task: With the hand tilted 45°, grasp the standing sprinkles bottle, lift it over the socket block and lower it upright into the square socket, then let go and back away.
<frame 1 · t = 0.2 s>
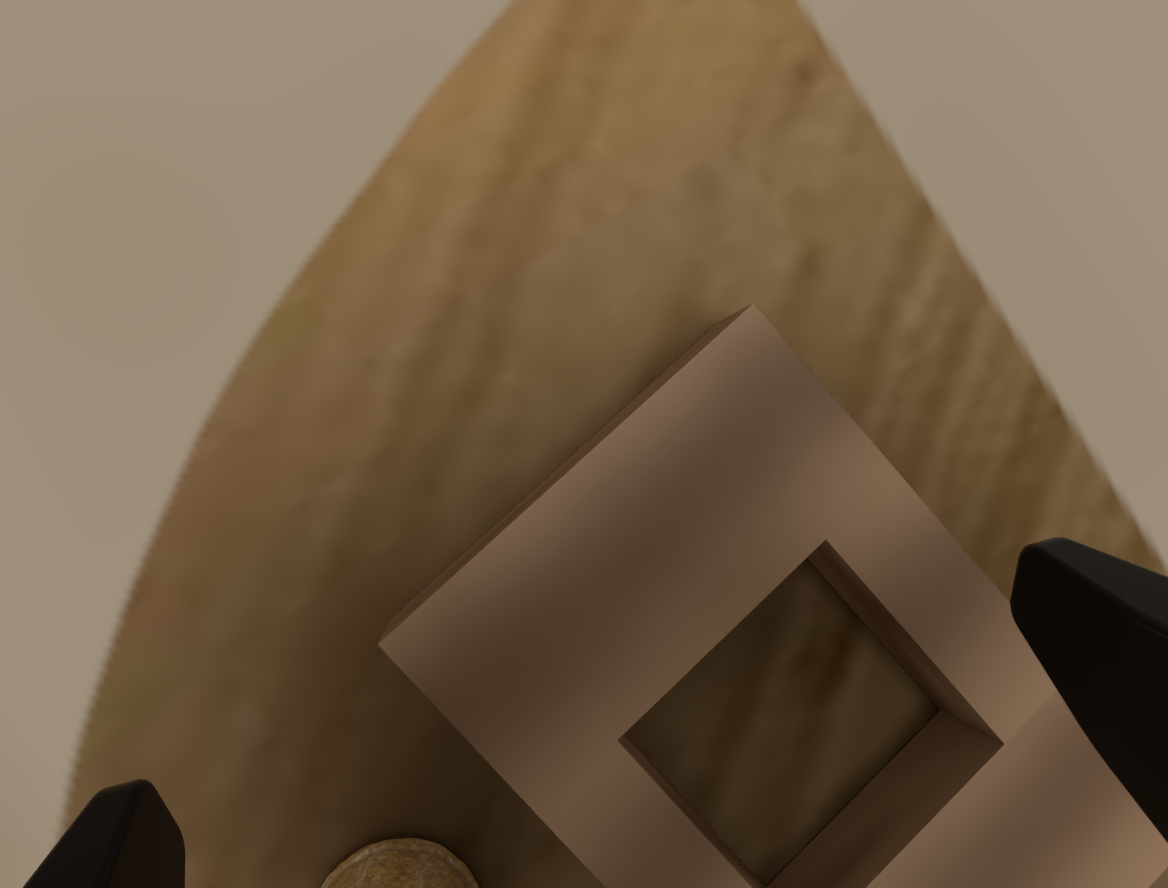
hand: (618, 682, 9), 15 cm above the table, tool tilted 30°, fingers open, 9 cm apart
socket block: (773, 707, 24), on the table
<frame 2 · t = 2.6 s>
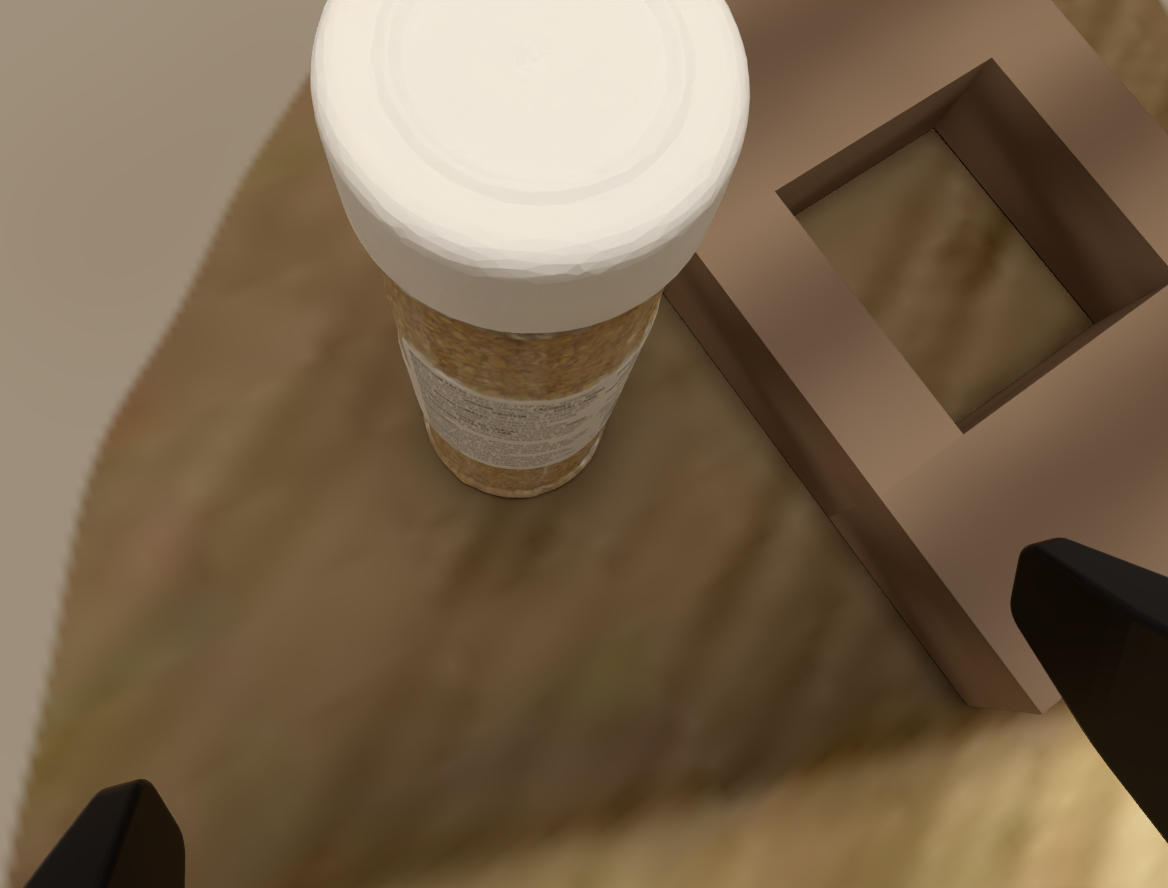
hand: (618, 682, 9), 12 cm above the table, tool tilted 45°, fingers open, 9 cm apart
sprinkles bottle: (515, 415, 22), on the table
socket block: (919, 286, 23), on the table
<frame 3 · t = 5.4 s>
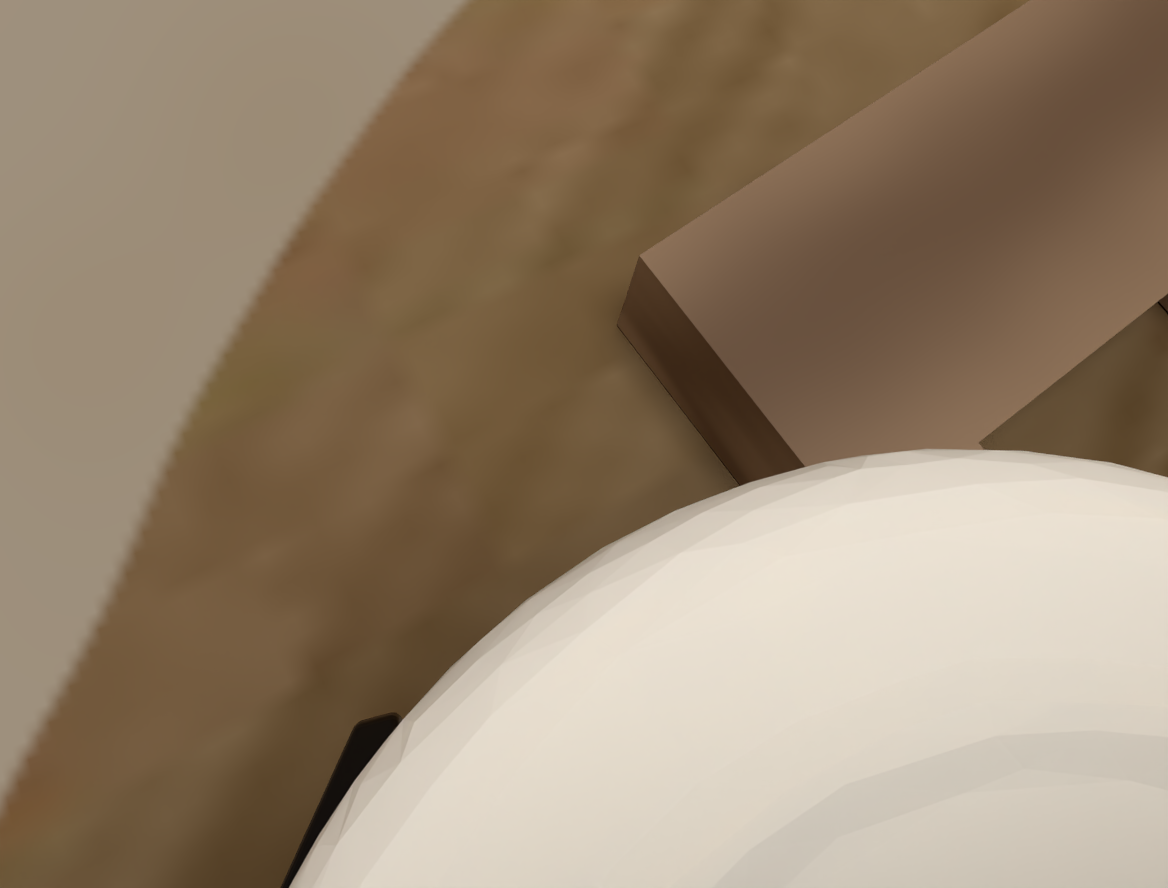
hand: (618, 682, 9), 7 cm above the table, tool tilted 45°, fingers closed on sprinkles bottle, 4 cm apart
sprinkles bottle: (592, 752, 15), on the table, touching gripper
socket block: (1147, 522, 17), on the table
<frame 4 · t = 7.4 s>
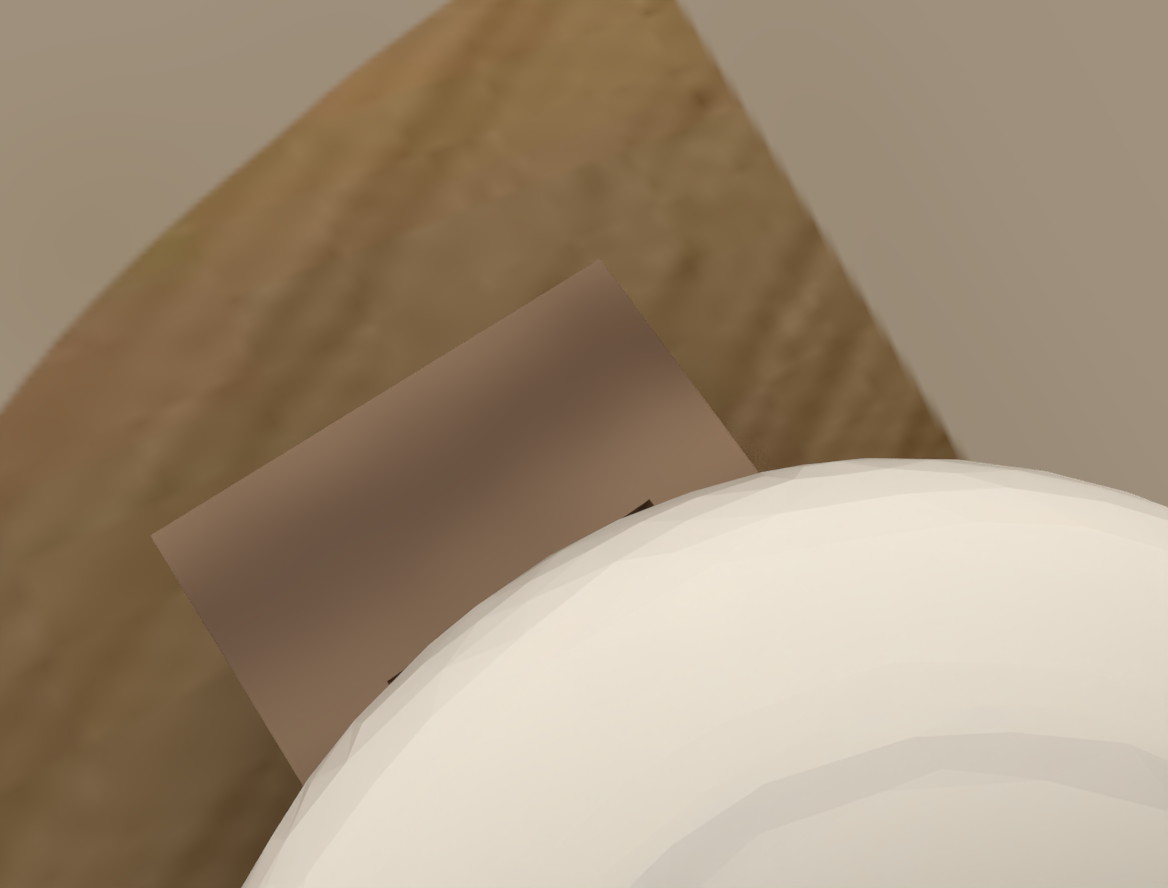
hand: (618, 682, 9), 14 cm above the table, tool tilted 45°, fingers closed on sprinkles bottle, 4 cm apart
sprinkles bottle: (600, 747, 15), point 7 cm above the table, touching gripper
socket block: (600, 712, 22), on the table
when the fingers open (8 cm above the table, at t = 9.5 s): sprinkles bottle drops 1 cm, resting in socket block.
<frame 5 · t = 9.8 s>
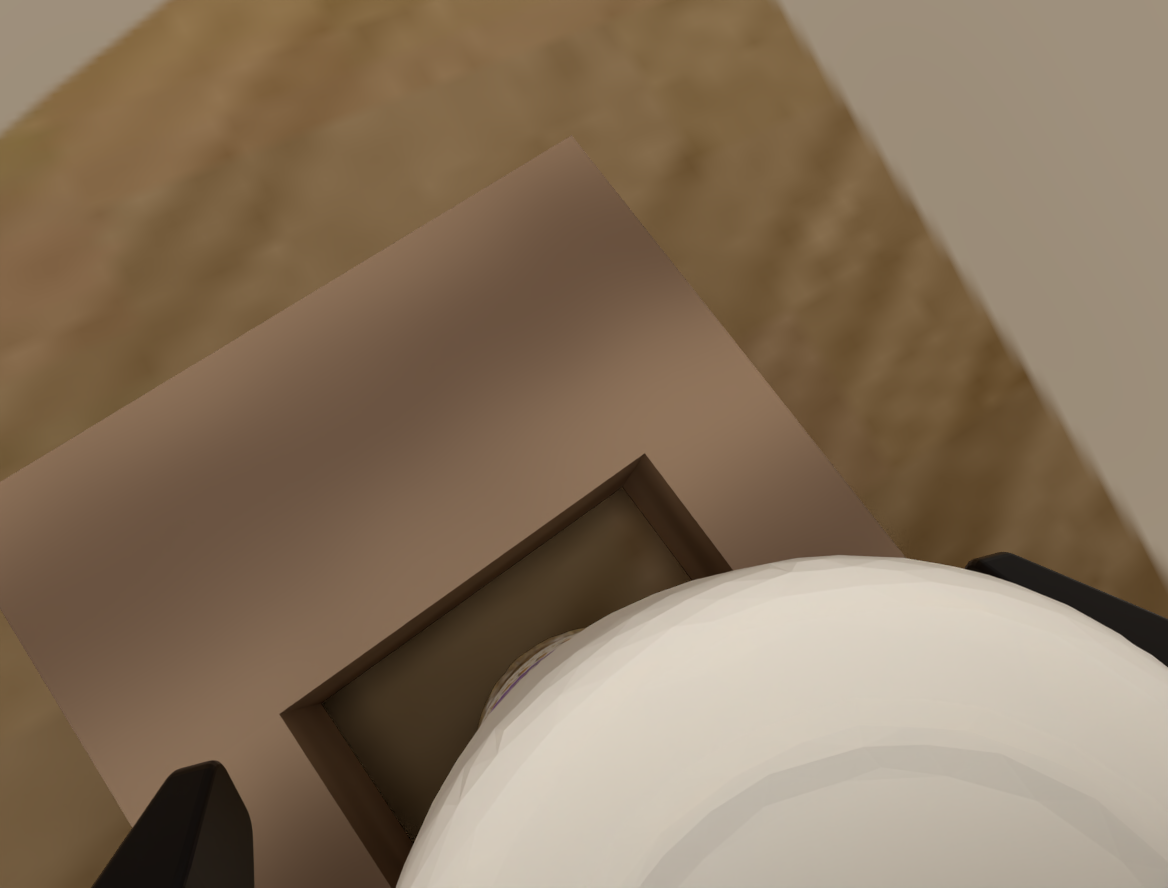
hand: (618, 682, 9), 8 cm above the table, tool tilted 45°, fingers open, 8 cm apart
sprinkles bottle: (594, 753, 16), resting in socket block
socket block: (585, 743, 16), on the table
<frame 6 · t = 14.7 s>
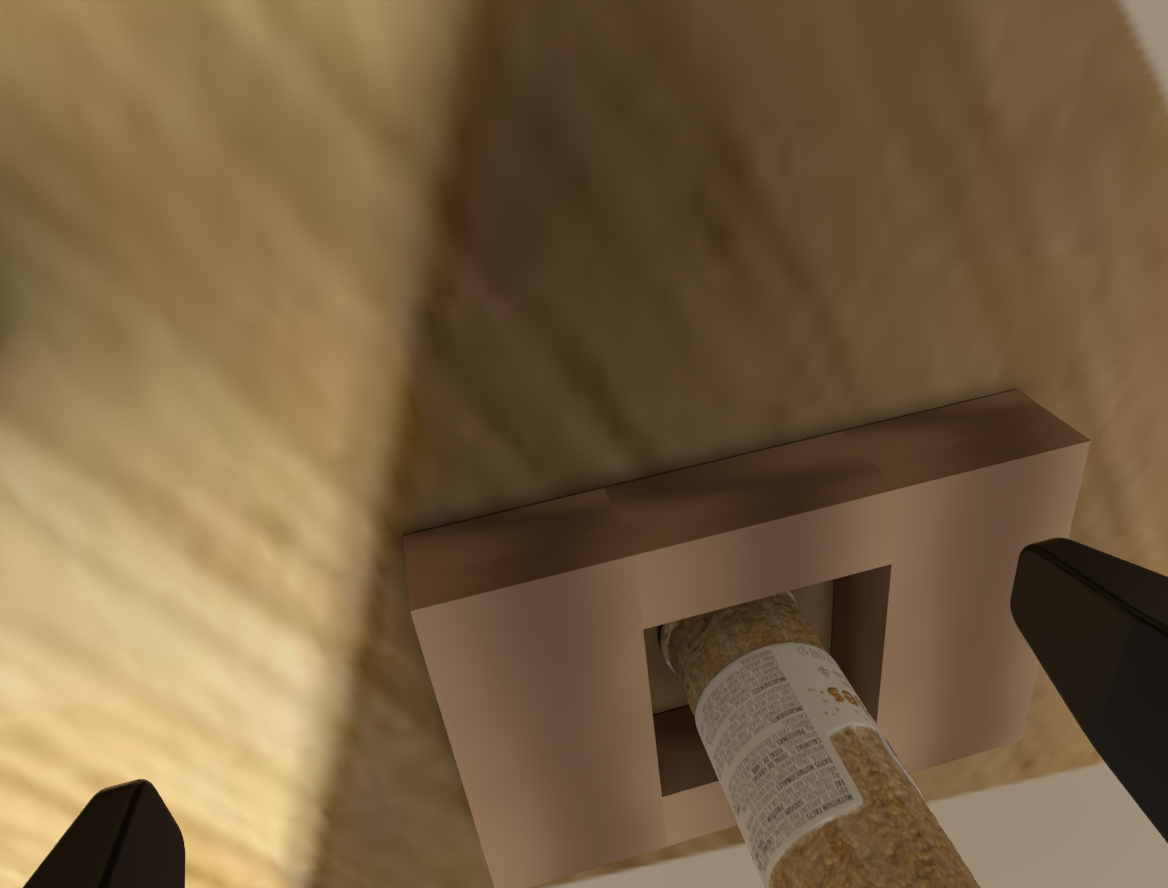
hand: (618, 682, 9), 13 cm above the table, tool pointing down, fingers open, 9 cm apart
sprinkles bottle: (721, 615, 28), resting in socket block
socket block: (731, 617, 27), on the table
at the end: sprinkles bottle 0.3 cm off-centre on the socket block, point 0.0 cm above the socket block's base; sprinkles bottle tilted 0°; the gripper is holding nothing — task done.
